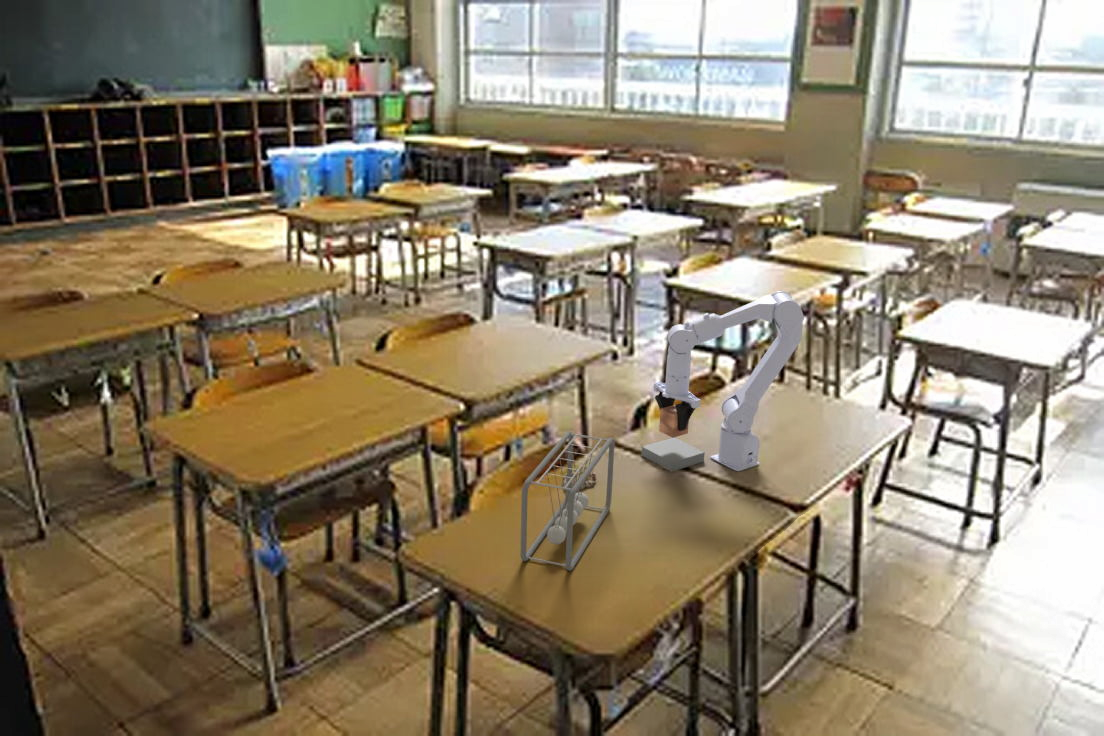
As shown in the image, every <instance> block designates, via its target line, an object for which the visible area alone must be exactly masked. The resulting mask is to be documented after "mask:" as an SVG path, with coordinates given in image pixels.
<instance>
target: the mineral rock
mask: <svg viewBox="0 0 1104 736" xmlns="http://www.w3.org/2000/svg"><path fill="white" fill-rule="evenodd" d="M587 467H588V466H586V467H585V466H582V469H580V470H581V473H580V470H579V472H578V473H577V475H576V476H577V481H578V478H580V477H581V475H582V474H583V472H584V468H585V470H586V468H587ZM575 469H576V471H577V470H578V469H579V467H578V468H575ZM574 474H575V470H573V471H572V477H573V475H574ZM579 474H580V477H579ZM564 476H565V477H563V478H562V483H561V487H564V486H566V485H567V473H565V474H564ZM574 478H575V477H574ZM563 479H564V484H563ZM577 481H576V478H575V482H574V479H573V480H572V486H573V482H574V485H575V484H576V482H577ZM584 482H585V484H584ZM584 482H583V484H582V485H581V487H580V491H582V489H583V490H584V489H585V487H586V488H592V487H594V486H595V484H594V483H596V482H597V475H596V473H595V470H594V469H593V470H592V471H591V473H590V474H589V475H588V477H587V478H586V481H584ZM583 485H584V488H583Z"/></svg>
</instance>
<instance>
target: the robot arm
mask: <svg viewBox="0 0 1104 736" xmlns="http://www.w3.org/2000/svg"><path fill="white" fill-rule="evenodd" d="M757 319H758V320H759V319H760V320H762V321H764V322H765V321H766V322H769V323H773V320H774V324H775V327H776V332H777V336H775V337H776V338H775V339H774V340H773V341H772V343H771V344H770V346H769V348H768V349H767V351H766V352H765V353H764V354H763V356H762V358H761V359H760V360H759V362H758V364H757V365H755V368H754V369H753V371H752V372H751V373H750V375H749V377H748V378H747V380H746V381H745V383H744V384H743V386H742V387H740V388H738V389H736V390H735V392H733V394H732V395H731V396H729V397H727V398H726V399H725V400H724V401H723V402H722V405H721V413H722V415H723V417H724V419H723V421H722V422H721V424H720V434H719V435H720V436H719V445H718V453H717V454H713V455H710V459H711V460H714V461H715V462H718V463H719V464H722V465H723V466H726V467H728V468H729V469H732V470H733V471H736V472H742V471H744V470H747V469H749V468H753V467H756V466H758V465H760V462H759V460H758V459H759V450H760V439H759V437H758V436H757V435H756V434H754V432H753V431H752V429H751V428H752V427H753V424H754V418H755V416H756V414H757V413H758V410H759V406H760V402H761V400H762V398H763V396H764V395H765V394H766V393H767V390H768V389H769V388H770V386H771V385H772V384H773V382H774V380H775V379H776V377H777V376H778V375H779V374H780V372H781V370H782V369H783V367H784V366H785V365H786V364H787V362H788V361H789V359H790V358H791V356H792V355H793V353H794V352H795V350H796V349H797V347H798V346H799V345H800V343H801V341H802V338H803V336H802V334H803V322H804V320H805V316H804V312H803V311H802V307H801V306H800V305H799V304H798V302H796V301H795V299H793V297H792V295H791V294H790V293H788V292H786V291H785V290H784V291H783V290H778V291H775V292H773V293H772V294H765V295H763V296H762V297H759V298H758V299H756V300H753V301H752V302H749V303H747V304H745V305H742V306H739V307H737V308H735V309H733V310H730V311H728V312H726V313H723V314H722V315H720V314H716V313H714V312H713V313H710V314H709V313H708V312H706V313H704V314H702V317H700V318H697V319H694V320H692V321H689V320H688V321H687V320H686V321H684V322H683V323H684V324H681V323H680V324H675V325H673V326H672V327H670V329H669V330H668V332H667V334H666V338H667V341H668V348H667V357H666V370H665V382H661V381H658V382H654V383H653V389H652V390H653V391H654V392H659V393H658V394H656V395H655V396H654V399H655V401H656V403H657V405H658V407H659V410H660V409H661V408H665V407H668V406H672V405H675V407H676V411H677V416H678V430H679V431H682V430H685V429H686V427H687V424H688V421H690V419H691V417H692V415H693V413H694V411H696V409H697V408H701V399H700V398H698V397H696V396H695V395H694V394H693V393H692V392H691V391H689V389H690V376H691V363H692V356H691V354H692V350H693V349H694V347H695V346H699V345H700V344H704V343H706V342H708V341H709V342H710V341H711V340H714V339H716V338H719V337H721V336H723V334H724V332H725V331H726V329H729V328H732V327H736V326H739V325H742V324H744V323H745V324H746V323H748V322H750V321H751V322H752V321H755V320H757ZM676 400H677V401H679V402H681V403H678V404H676V403H675V401H676ZM688 425H689V424H688Z"/></svg>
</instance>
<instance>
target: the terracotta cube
mask: <svg viewBox="0 0 1104 736" xmlns="http://www.w3.org/2000/svg"><path fill="white" fill-rule="evenodd" d="M675 405H676V404H674V405H672V406H668V407H665V408H661V409H660V408H659V413H660V414H659V426H658V427H659V428H658V432H661V434H662V433H663V434H664V435H666V436H668V437H670V438H674V437H675V438H677V437H680V436H683V435H687V434H689V421H690V420H689V421H688V424H687V427H686V429H685V430H682V431H679V430H678V416H677V411H676V407H675Z"/></svg>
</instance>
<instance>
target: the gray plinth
mask: <svg viewBox="0 0 1104 736" xmlns="http://www.w3.org/2000/svg"><path fill="white" fill-rule="evenodd" d="M641 457H644V459H647V460H648V461H650V460H651V462H652V463H654V464H656V463H657V465H658V466H660V467H662V468H663V469H665V468H666V470H667V471H668V472H671V471H672V472H675V471H679V470H681V469H685V468H687V467H691V466H694V465H696V464H701V463H703V462H704V461H705V451H704V450H703V451H702V450H701V449H699V448H697V447H695V446H693V445H691V444H689V443H687V442H685V441H684V440H681V439H680V438H679V439H678V438H677V437H674V438H672V437H670V438H667V439H664V440H660V441H657V442H653V443H650V444H646V445H643V446H641Z"/></svg>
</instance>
